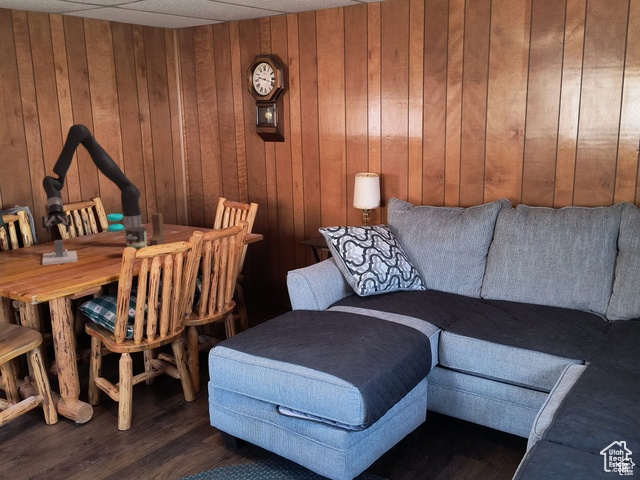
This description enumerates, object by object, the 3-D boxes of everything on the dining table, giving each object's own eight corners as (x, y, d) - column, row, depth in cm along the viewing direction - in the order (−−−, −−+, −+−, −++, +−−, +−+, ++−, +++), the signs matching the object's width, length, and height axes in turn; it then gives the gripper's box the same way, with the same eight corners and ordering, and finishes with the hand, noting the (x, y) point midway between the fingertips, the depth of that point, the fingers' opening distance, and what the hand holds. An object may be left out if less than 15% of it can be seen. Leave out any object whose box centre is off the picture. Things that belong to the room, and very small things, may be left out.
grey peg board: (43, 256, 314) (42, 248, 313) (76, 253, 320) (75, 245, 319) (42, 265, 296) (41, 256, 295) (77, 261, 302) (76, 252, 301)
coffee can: (139, 258, 307) (137, 231, 305) (123, 256, 311) (121, 230, 308) (152, 253, 317) (150, 227, 314) (136, 252, 321) (134, 226, 318)
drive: (56, 255, 309) (54, 240, 308) (63, 254, 311) (62, 239, 309) (56, 257, 305) (54, 242, 303) (63, 256, 306) (62, 241, 305)
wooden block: (157, 248, 330) (155, 215, 327) (150, 247, 331) (147, 215, 327) (164, 244, 339) (162, 213, 335) (157, 244, 340) (155, 213, 336)
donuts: (103, 214, 381) (117, 212, 388) (104, 230, 383) (119, 228, 390) (111, 216, 374) (125, 214, 381) (112, 232, 376) (127, 229, 384)
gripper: (40, 204, 313) (42, 229, 305) (69, 202, 318) (72, 227, 310) (41, 213, 319) (43, 238, 311) (70, 211, 324) (73, 235, 316)
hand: (57, 232), depth 311 cm, fingers open, 8 cm apart
